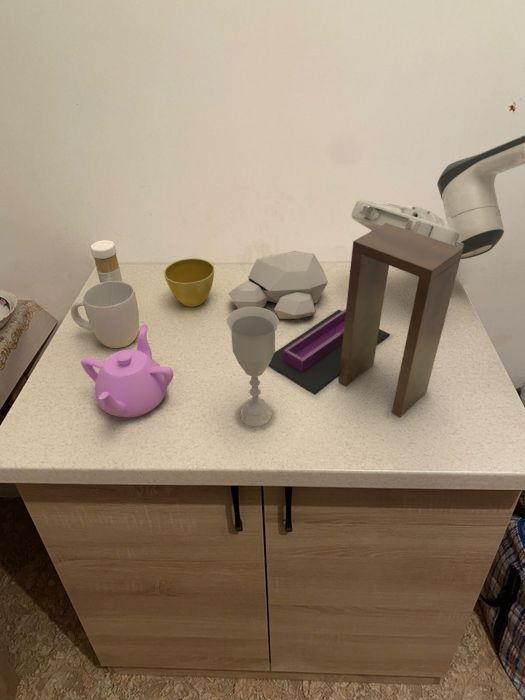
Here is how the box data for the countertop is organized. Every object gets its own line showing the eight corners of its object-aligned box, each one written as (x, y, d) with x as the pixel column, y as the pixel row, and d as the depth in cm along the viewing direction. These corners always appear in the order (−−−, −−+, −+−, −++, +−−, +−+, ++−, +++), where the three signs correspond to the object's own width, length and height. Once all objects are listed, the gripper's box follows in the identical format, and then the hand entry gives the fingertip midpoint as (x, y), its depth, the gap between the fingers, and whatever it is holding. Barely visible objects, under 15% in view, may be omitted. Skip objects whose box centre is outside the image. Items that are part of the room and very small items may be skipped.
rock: (325, 327, 97) (329, 284, 91) (224, 321, 99) (220, 279, 93) (327, 279, 111) (330, 239, 105) (238, 275, 113) (235, 235, 107)
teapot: (153, 362, 90) (145, 322, 84) (184, 410, 80) (177, 368, 75) (87, 386, 85) (74, 344, 80) (111, 439, 76) (98, 397, 70)
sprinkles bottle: (121, 294, 108) (108, 237, 99) (131, 303, 105) (118, 245, 96) (101, 302, 105) (86, 244, 97) (111, 311, 103) (96, 252, 94)
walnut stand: (366, 360, 89) (386, 222, 73) (426, 392, 83) (463, 248, 66) (338, 382, 85) (353, 241, 69) (400, 418, 78) (432, 270, 62)
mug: (149, 326, 98) (141, 282, 92) (133, 354, 91) (123, 309, 85) (88, 321, 100) (76, 277, 94) (68, 349, 93) (53, 303, 87)
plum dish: (358, 310, 101) (359, 299, 99) (376, 319, 98) (378, 308, 97) (283, 361, 89) (283, 350, 87) (302, 373, 86) (302, 361, 84)
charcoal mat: (338, 311, 101) (338, 309, 101) (389, 335, 95) (389, 333, 94) (262, 362, 89) (262, 360, 89) (314, 394, 83) (314, 392, 82)
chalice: (224, 414, 79) (215, 321, 68) (253, 392, 83) (250, 300, 72) (258, 438, 75) (255, 343, 64) (287, 413, 79) (289, 320, 68)
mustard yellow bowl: (162, 311, 102) (157, 281, 98) (176, 286, 110) (172, 256, 106) (210, 315, 101) (207, 284, 97) (221, 289, 109) (218, 259, 104)
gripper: (459, 264, 93) (433, 253, 82) (366, 231, 104) (333, 218, 93) (474, 231, 91) (449, 215, 80) (378, 201, 102) (346, 184, 91)
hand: (386, 216), depth 87 cm, fingers open, 8 cm apart
